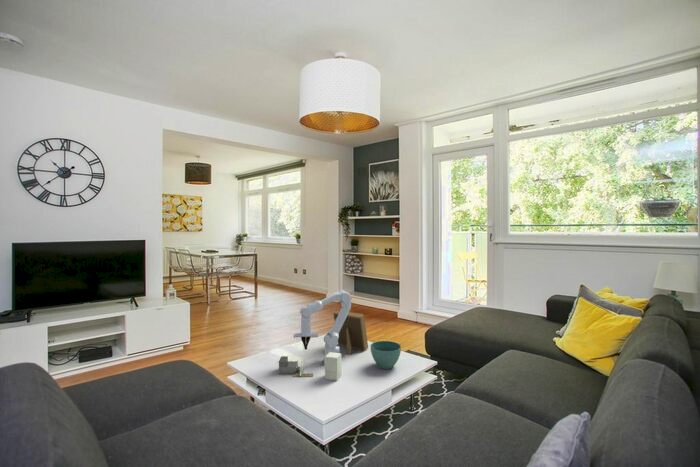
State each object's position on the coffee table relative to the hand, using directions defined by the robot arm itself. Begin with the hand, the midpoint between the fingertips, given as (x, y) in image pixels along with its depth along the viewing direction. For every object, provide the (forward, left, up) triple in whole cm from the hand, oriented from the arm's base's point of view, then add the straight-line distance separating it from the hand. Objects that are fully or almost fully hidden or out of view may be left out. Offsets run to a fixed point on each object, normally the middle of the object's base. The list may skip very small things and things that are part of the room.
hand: (305, 348), depth 211 cm
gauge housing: (+9, +9, -9) cm, 16 cm away
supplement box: (-17, +18, -10) cm, 26 cm away
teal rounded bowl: (-48, +4, -10) cm, 49 cm away
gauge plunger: (+6, +11, -9) cm, 16 cm away
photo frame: (-27, -24, -10) cm, 37 cm away
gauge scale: (0, +15, -9) cm, 18 cm away
